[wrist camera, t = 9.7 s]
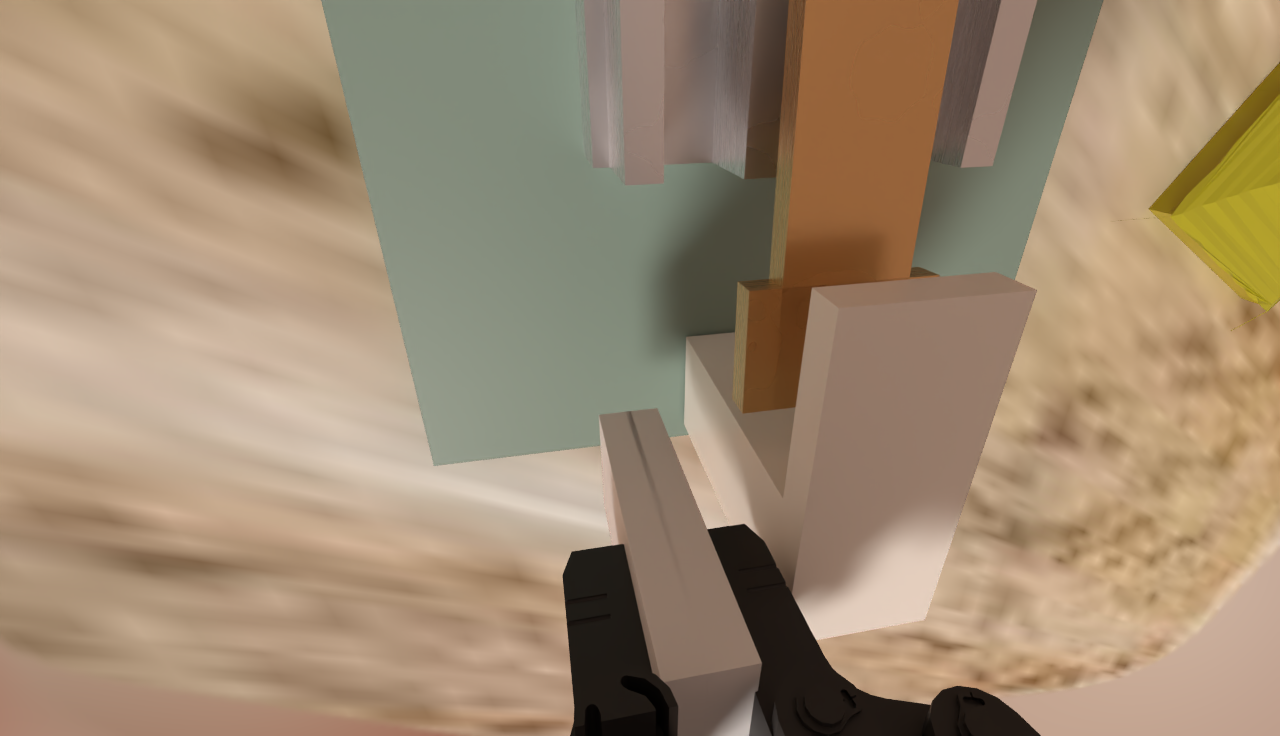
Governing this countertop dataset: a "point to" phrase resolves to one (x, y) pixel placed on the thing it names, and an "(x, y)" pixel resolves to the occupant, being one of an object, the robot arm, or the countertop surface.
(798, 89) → the strap
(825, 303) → the cream l-shaped bracket
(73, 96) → the countertop surface
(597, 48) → the heatsink
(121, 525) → the countertop surface
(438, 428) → the board
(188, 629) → the countertop surface
